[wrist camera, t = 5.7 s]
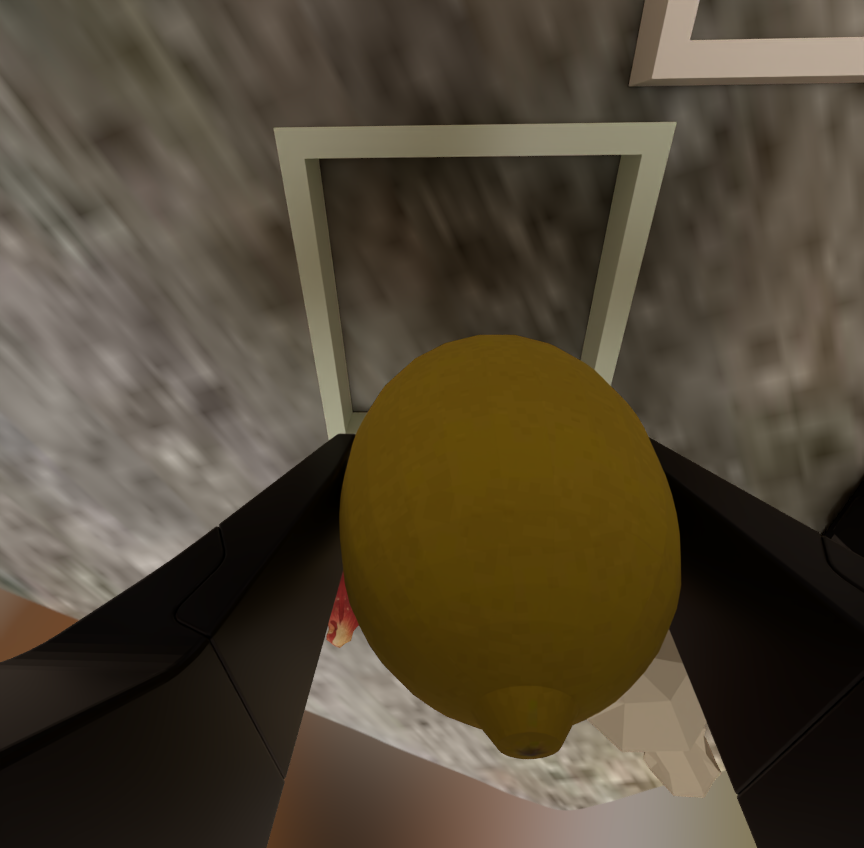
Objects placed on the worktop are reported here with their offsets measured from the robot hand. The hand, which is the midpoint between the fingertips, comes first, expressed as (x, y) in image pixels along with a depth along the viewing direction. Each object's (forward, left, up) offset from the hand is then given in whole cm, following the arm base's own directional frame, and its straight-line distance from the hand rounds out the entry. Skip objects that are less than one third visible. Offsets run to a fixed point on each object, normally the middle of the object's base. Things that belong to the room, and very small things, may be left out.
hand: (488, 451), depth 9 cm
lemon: (0, 0, -3) cm, 3 cm away
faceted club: (-14, +29, -10) cm, 34 cm away
